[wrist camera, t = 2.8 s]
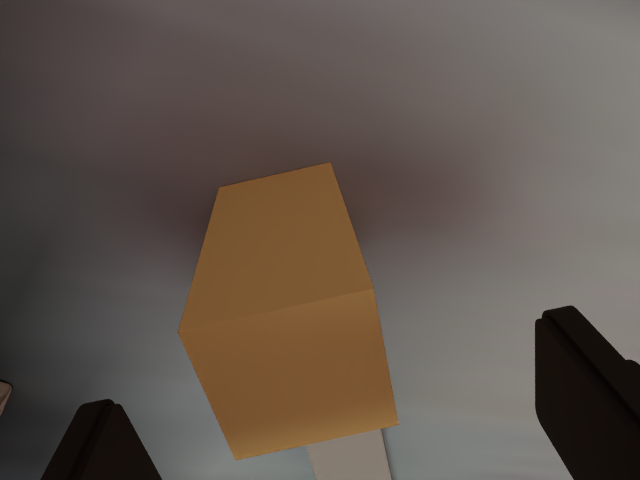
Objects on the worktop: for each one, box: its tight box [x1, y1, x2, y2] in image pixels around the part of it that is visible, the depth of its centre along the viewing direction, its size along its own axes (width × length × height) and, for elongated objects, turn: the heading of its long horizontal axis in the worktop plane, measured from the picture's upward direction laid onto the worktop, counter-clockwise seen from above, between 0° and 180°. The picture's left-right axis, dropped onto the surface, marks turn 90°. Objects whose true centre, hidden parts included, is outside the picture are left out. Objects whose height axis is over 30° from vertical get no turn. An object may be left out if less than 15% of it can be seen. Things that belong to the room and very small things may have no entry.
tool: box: [178, 162, 399, 480], centre depth 18 cm, size 20×4×8 cm, turn 12°
